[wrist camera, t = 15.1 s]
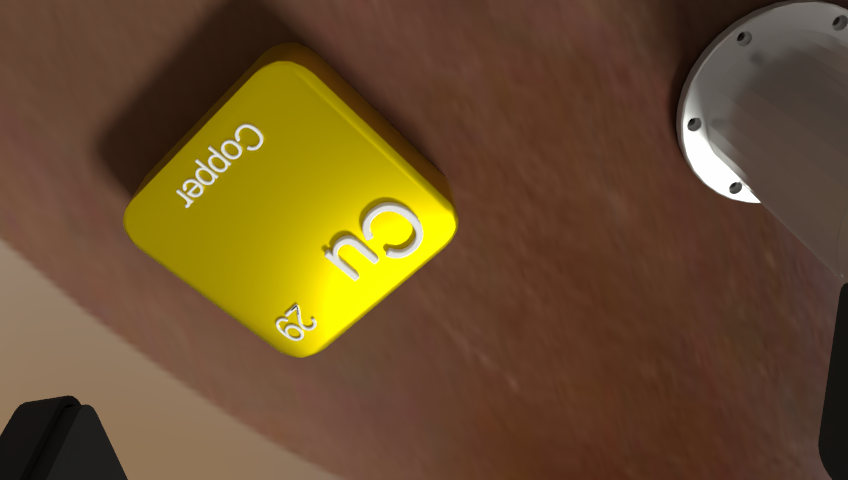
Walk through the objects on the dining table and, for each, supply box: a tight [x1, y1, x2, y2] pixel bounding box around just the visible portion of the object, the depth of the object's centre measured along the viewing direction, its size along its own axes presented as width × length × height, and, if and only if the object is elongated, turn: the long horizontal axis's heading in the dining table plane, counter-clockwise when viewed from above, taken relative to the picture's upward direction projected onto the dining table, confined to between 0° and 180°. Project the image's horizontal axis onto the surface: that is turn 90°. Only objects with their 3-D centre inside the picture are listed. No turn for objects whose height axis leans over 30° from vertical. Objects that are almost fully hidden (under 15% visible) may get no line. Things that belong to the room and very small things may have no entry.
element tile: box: [123, 43, 458, 357], centre depth 46 cm, size 15×15×5 cm
